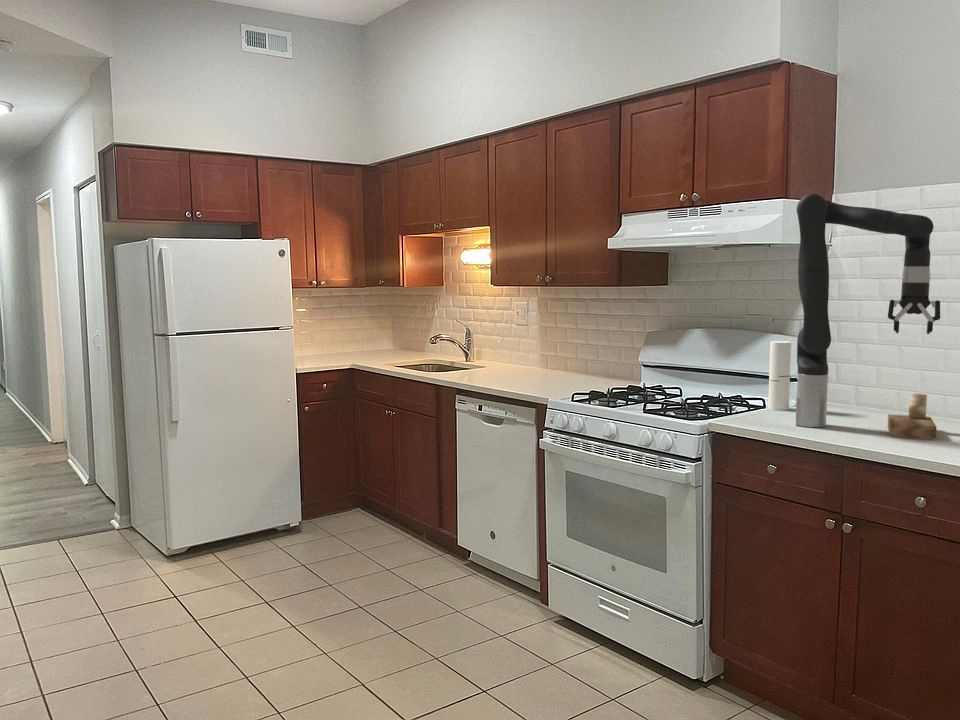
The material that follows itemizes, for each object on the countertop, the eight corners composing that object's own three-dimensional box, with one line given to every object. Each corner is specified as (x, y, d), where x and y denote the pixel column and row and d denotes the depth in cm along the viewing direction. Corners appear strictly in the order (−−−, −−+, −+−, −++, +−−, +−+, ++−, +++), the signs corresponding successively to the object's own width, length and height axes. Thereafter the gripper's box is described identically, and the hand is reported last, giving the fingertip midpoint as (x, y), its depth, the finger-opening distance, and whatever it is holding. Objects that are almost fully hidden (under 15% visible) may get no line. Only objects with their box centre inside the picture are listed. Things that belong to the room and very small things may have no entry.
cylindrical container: (790, 410, 288) (792, 342, 286) (769, 410, 290) (772, 342, 287) (786, 407, 295) (789, 341, 293) (766, 406, 297) (769, 341, 294)
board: (890, 436, 241) (891, 423, 241) (887, 426, 257) (888, 414, 257) (935, 439, 236) (936, 426, 236) (929, 429, 252) (930, 416, 252)
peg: (908, 429, 249) (910, 395, 248) (906, 426, 254) (908, 393, 252) (926, 430, 247) (928, 396, 246) (924, 428, 252) (926, 394, 250)
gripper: (940, 281, 244) (937, 333, 246) (889, 281, 250) (886, 331, 252) (943, 281, 238) (940, 335, 239) (890, 281, 243) (887, 333, 245)
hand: (912, 333), depth 246 cm, fingers open, 8 cm apart
